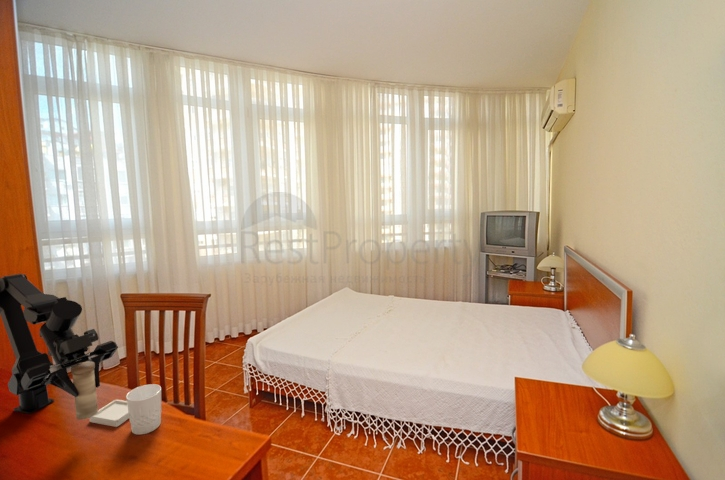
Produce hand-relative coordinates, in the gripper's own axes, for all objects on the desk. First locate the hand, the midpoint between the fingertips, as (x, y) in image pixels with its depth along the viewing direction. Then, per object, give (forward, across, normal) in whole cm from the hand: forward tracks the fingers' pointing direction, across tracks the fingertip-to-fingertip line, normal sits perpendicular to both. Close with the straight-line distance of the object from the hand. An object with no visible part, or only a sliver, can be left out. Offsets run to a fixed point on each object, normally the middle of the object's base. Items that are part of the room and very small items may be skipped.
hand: (88, 391), depth 85 cm
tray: (+6, +9, +13) cm, 17 cm away
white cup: (+14, +10, +5) cm, 18 cm away
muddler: (+4, 0, +6) cm, 7 cm away
